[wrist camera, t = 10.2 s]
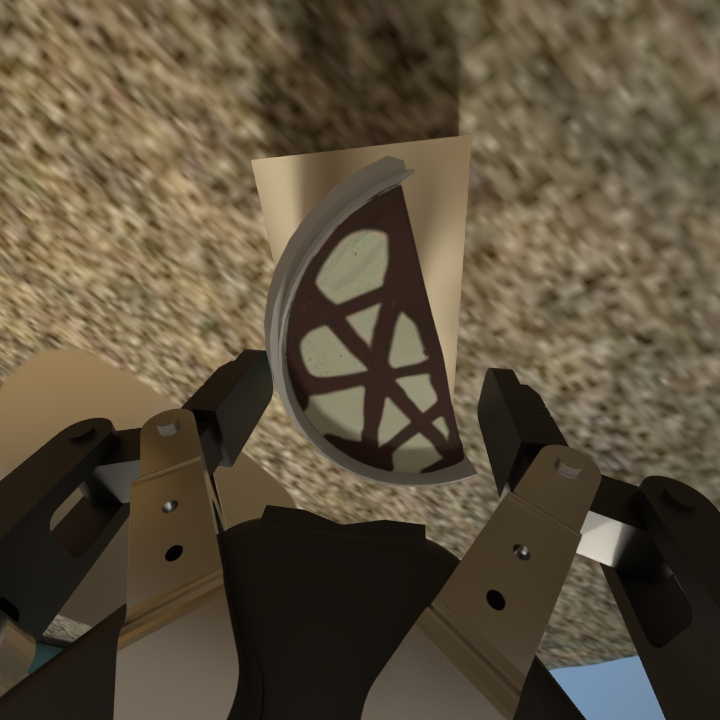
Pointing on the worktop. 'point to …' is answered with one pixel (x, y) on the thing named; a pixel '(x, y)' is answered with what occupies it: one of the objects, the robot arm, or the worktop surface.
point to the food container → (363, 338)
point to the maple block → (423, 200)
